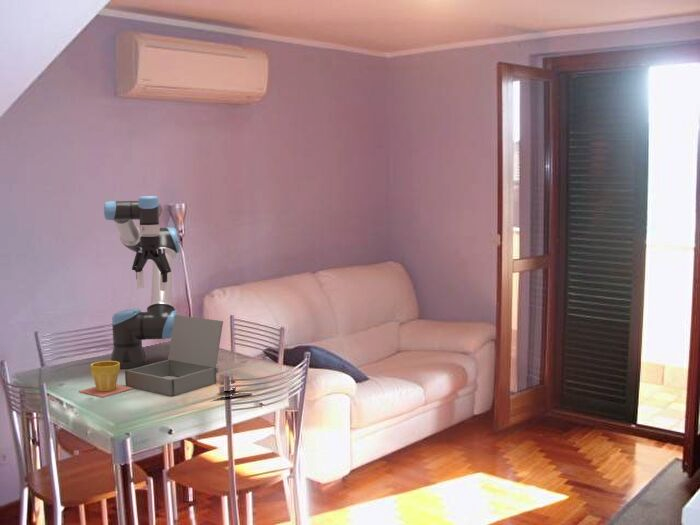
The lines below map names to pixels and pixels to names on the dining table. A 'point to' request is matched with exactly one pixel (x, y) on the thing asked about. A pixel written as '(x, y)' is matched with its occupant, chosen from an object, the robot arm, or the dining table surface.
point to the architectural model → (221, 383)
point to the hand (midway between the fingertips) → (152, 289)
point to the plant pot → (105, 375)
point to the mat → (117, 390)
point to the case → (182, 359)
